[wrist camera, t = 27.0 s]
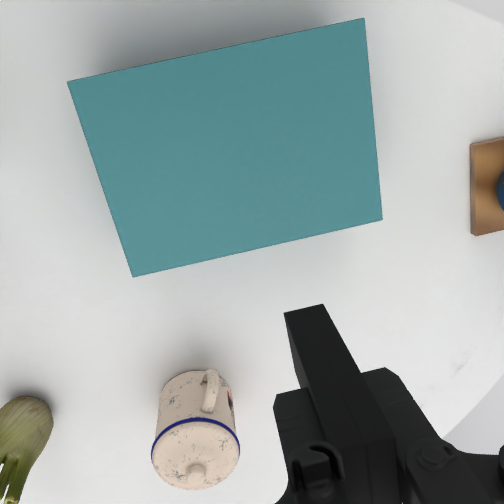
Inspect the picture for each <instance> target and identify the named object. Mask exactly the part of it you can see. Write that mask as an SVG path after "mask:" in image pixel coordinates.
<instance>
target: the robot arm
mask: <svg viewBox="0 0 504 504" xmlns="http://www.w3.org/2000/svg"><path fill="white" fill-rule="evenodd" d="M284 317H285V322H286V327H287V332H288V337H289V343H290V348H291V353H292V358H293V363H294V368H295V372H296V375H297V378H298V382H299V385H300V388H301V389H297V390H293V391H289V392H285V393H280V394H277V395H276V398H275V402H274V405H273V410H274V415H275V419H276V424H277V428H278V432H279V437H280V441H281V445H282V450H283V454H284V459H285V463H286V467H287V472H288V485H287V488H286V491H285V493H284V495H283V496H282V497H281V498H280V500H279V501H278V502H276V503H275V504H402V503H403V504H504V445H503V446H502V447H501V448H500V451H499V455H486V454H485V455H484V454H471V453H465V452H462V451H459V450H457V449H456V448H455V447H454V446H453V445H452V444H450V443H448V442H446V441H444V440H442V439H441V438H440V437H439V436H438V435H437V433H436V432H435V430H434V429H433V427H432V426H431V424H430V423H429V421H428V420H427V418H426V417H425V415H424V414H423V412H422V411H421V409H420V408H419V406H418V405H417V403H416V402H415V400H413V397H412V396H411V394H410V393H409V391H408V390H407V389H406V387H405V385H404V384H403V382H402V381H401V379H400V378H399V376H398V375H396V374H395V373H393V372H392V371H390V370H389V369H387V368H386V367H384V368H380V369H376V370H371V371H367V372H363V373H361V372H360V370H359V369H358V367H357V365H356V363H355V361H354V359H353V358H352V356H351V354H350V352H349V350H348V349H347V347H346V345H345V343H344V341H343V339H342V338H341V336H340V334H339V332H338V330H337V328H336V327H335V325H334V323H333V321H332V319H331V318H330V316H329V314H328V312H327V310H326V308H325V307H324V305H323V304H319V305H315V306H311V307H306V308H302V309H298V310H294V311H289V312H285V313H284Z"/></svg>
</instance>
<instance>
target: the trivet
mask: <svg viewBox="0 0 504 504" xmlns="http://www.w3.org/2000/svg"><path fill="white" fill-rule="evenodd" d="M470 165H471V234H473V235H475V236H479V235H483V234H488V233H492V232H496V231H501V230H504V211H503V209H502V208H501V206H500V205H499V202H498V198H497V193H496V186H497V181H498V178H499V176H500V174H501V173H502V171H503V170H504V137H502V138H497V139H493V140H488V141H484V142H480V143H475V144H471V145H470Z"/></svg>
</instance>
